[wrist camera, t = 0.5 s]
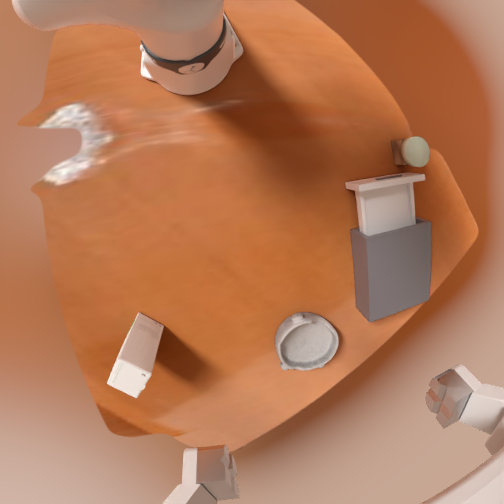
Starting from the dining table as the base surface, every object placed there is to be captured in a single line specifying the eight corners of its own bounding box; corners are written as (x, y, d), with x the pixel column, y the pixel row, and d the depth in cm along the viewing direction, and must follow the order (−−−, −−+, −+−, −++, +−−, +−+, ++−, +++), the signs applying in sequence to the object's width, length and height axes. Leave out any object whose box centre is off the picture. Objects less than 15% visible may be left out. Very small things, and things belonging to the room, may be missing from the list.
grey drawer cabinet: (350, 229, 55) (366, 238, 48) (412, 214, 55) (431, 221, 49) (355, 307, 60) (369, 322, 54) (412, 287, 61) (429, 299, 54)
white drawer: (344, 180, 51) (358, 183, 46) (408, 170, 52) (424, 172, 46) (354, 268, 57) (367, 279, 52) (413, 251, 58) (428, 259, 52)
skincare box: (139, 310, 55) (118, 355, 40) (166, 326, 57) (153, 374, 42) (125, 337, 57) (104, 383, 42) (151, 351, 58) (137, 400, 44)
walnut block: (390, 140, 50) (401, 139, 46) (409, 139, 50) (420, 138, 46) (394, 164, 51) (405, 165, 48) (412, 162, 52) (423, 162, 48)
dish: (283, 304, 58) (288, 316, 53) (341, 313, 61) (349, 324, 56) (264, 358, 62) (267, 372, 57) (318, 363, 64) (325, 376, 60)
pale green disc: (399, 137, 46) (405, 137, 44) (421, 136, 46) (427, 135, 44) (403, 167, 48) (409, 168, 46) (425, 165, 48) (431, 165, 46)
